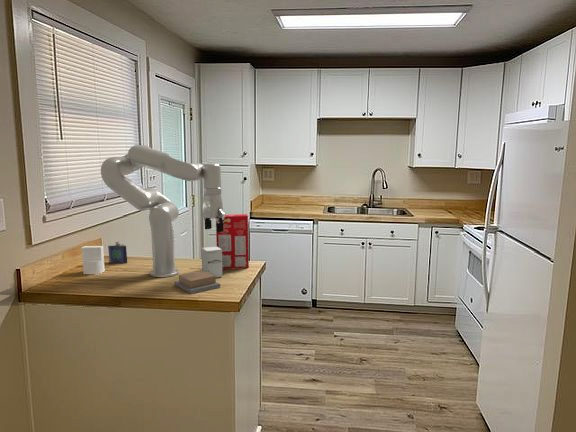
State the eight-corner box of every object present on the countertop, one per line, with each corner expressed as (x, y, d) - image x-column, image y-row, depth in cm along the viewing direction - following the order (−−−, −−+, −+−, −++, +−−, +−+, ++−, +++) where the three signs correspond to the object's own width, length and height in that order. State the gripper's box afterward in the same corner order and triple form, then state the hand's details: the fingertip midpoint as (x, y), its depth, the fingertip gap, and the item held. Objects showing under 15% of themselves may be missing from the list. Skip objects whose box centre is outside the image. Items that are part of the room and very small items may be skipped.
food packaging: (247, 265, 214) (247, 214, 210) (248, 268, 209) (247, 215, 205) (217, 266, 212) (215, 215, 208) (217, 269, 207) (215, 216, 203)
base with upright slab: (107, 269, 207) (106, 244, 205) (100, 274, 198) (98, 248, 196) (88, 269, 207) (86, 244, 205) (80, 275, 198) (78, 249, 196)
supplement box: (206, 279, 191) (205, 250, 189) (201, 275, 197) (200, 247, 195) (223, 277, 194) (222, 249, 192) (217, 273, 201) (216, 245, 199)
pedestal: (174, 284, 183) (174, 274, 182) (202, 279, 191) (202, 269, 190) (191, 293, 171) (190, 282, 171) (220, 287, 180) (220, 276, 179)
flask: (108, 263, 218) (106, 242, 217) (111, 261, 221) (109, 240, 220) (126, 263, 217) (124, 242, 216) (128, 262, 220) (127, 241, 219)
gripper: (195, 191, 196) (196, 229, 199) (215, 193, 184) (217, 234, 186) (209, 190, 201) (211, 227, 204) (230, 192, 188) (232, 231, 191)
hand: (214, 230), depth 195 cm, fingers open, 9 cm apart
